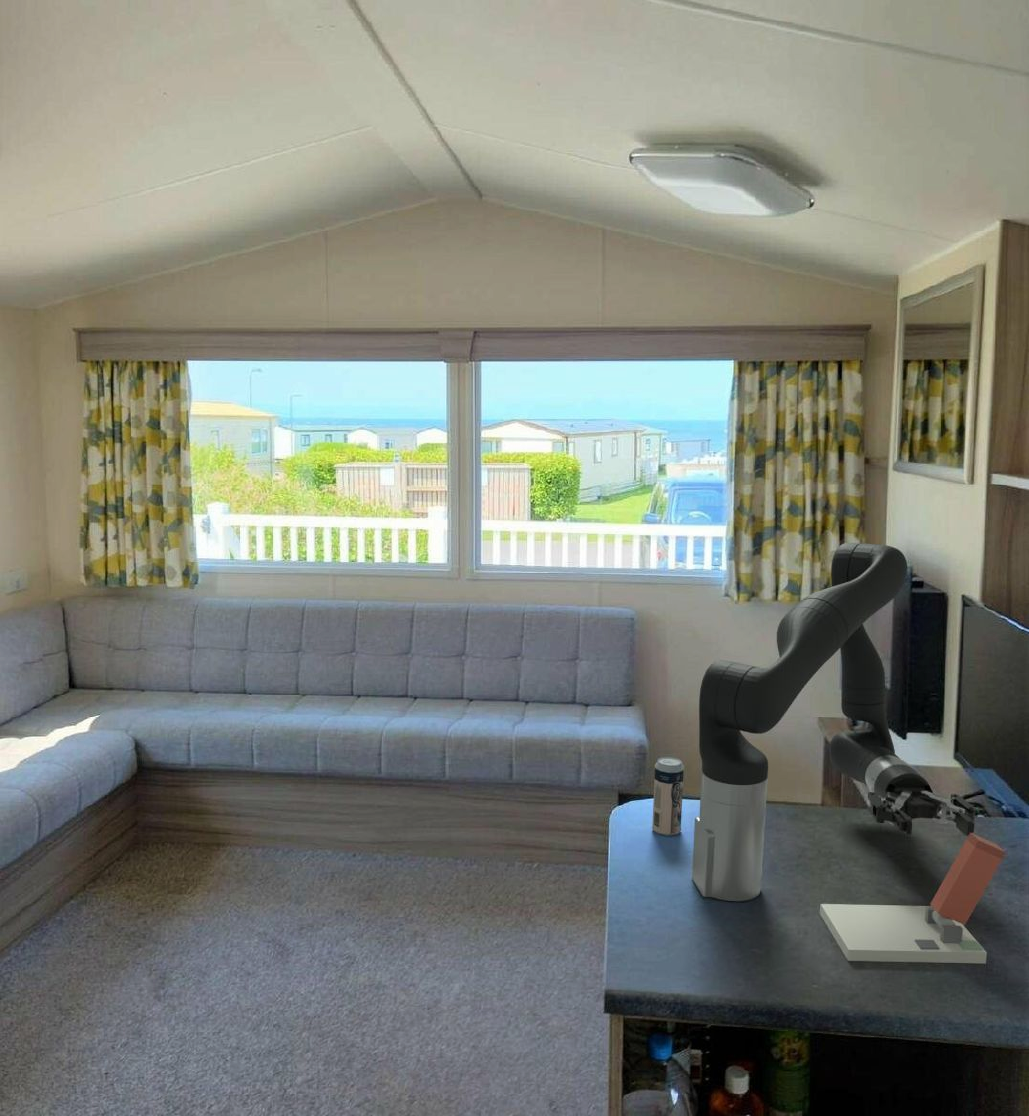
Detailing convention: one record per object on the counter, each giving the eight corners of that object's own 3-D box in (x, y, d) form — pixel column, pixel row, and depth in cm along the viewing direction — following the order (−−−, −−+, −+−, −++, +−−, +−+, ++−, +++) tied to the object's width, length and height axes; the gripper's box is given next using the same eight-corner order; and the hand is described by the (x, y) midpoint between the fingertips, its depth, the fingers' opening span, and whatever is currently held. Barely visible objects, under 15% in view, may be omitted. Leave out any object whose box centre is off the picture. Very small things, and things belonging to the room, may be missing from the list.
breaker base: (847, 960, 129) (849, 934, 129) (819, 914, 141) (821, 890, 141) (985, 963, 129) (988, 937, 129) (946, 916, 141) (948, 892, 141)
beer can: (680, 838, 165) (684, 767, 163) (650, 835, 166) (653, 764, 164) (681, 827, 170) (685, 757, 168) (652, 824, 171) (655, 755, 169)
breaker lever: (932, 927, 132) (979, 841, 131) (922, 914, 136) (968, 831, 134) (959, 939, 133) (1007, 853, 131) (948, 926, 136) (995, 843, 134)
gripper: (853, 762, 159) (891, 802, 143) (944, 764, 159) (992, 804, 143) (850, 808, 160) (887, 853, 144) (940, 810, 160) (988, 855, 144)
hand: (939, 829), depth 144 cm, fingers open, 8 cm apart
